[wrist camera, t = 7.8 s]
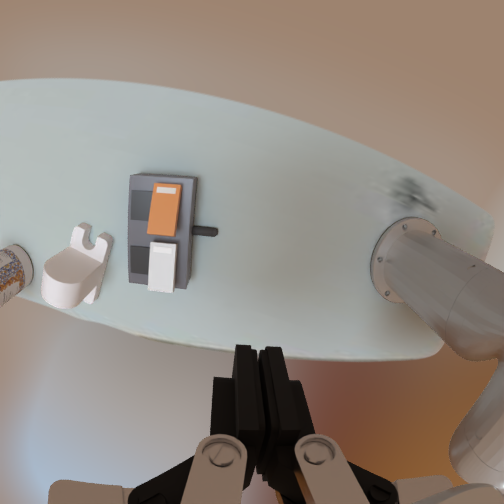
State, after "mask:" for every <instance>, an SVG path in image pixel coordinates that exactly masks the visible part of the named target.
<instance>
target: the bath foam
mask: <svg viewBox="0 0 504 504" xmlns="http://www.w3.org/2000/svg"><path fill="white" fill-rule="evenodd" d="M32 276H33V269H32V264H31V261H30V259H29V257H28V255H27V253H26V252H25V251H24V250H23V249H22V248H21V247H19V246H17V245H11V246H8V247H6V248H5V249H2V250H1V251H0V307H1V306H3V305H4V304H5V303H6V302H8V301H9V300H10V299H11V298H12V297H14V296H15V295H16V294H18V293H19V292H20V291H21V290H23V289H24V288H25V287H26V286H28V285H29V284H30V282H31V280H32Z"/></svg>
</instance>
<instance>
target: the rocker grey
mask: <svg viewBox="0 0 504 504" xmlns="http://www.w3.org/2000/svg"><path fill="white" fill-rule="evenodd" d="M177 245H178V244H175V243H165V242H155V241H152V242H150V256H149V274H148V290H151V291H159V292H167V293H173V292H174V289H175V272H176V258H177Z"/></svg>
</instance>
